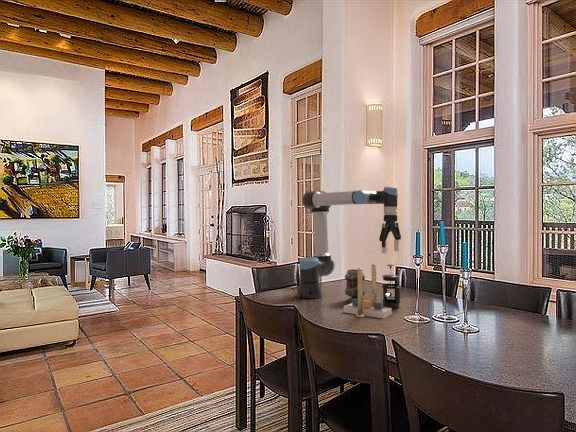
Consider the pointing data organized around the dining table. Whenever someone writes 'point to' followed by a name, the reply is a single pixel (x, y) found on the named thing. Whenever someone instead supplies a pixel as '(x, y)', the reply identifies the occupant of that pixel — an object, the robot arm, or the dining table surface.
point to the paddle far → (378, 305)
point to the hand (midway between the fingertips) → (390, 252)
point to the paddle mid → (367, 303)
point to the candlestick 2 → (373, 283)
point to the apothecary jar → (353, 284)
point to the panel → (369, 311)
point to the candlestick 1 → (360, 294)
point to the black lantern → (390, 302)
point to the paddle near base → (355, 302)
